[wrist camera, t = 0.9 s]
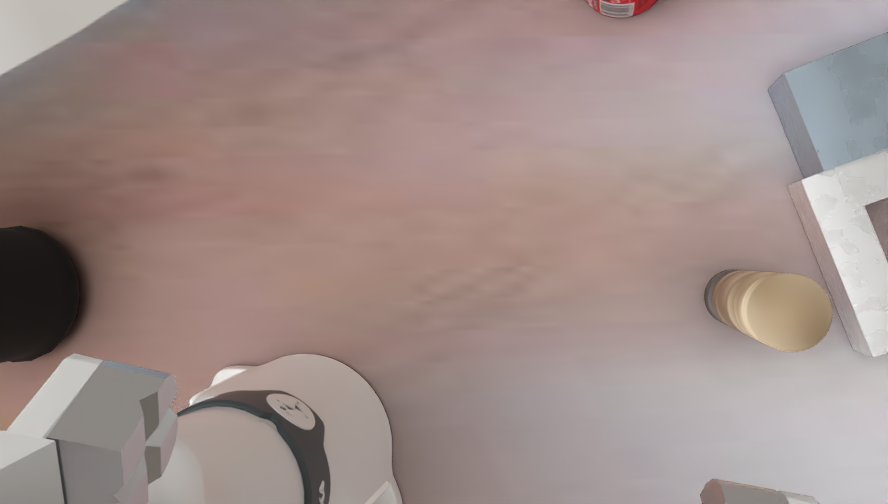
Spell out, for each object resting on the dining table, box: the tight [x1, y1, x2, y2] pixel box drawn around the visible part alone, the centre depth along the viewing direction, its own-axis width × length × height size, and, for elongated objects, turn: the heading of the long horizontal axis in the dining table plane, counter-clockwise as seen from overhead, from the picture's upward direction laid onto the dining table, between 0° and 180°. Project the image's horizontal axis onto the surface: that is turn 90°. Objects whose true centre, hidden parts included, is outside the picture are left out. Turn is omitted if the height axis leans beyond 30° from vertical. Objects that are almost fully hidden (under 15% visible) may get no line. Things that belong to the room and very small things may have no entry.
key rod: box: [704, 270, 832, 352], centre depth 47 cm, size 4×4×17 cm
